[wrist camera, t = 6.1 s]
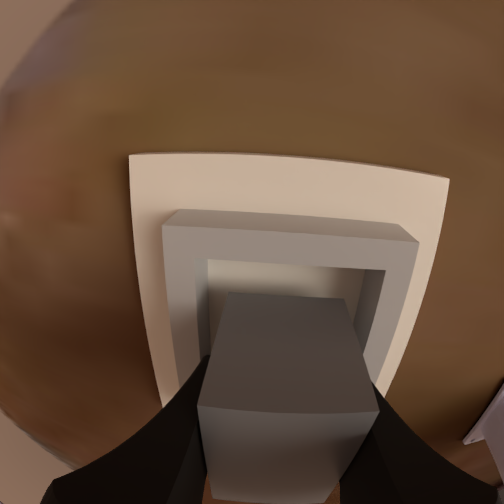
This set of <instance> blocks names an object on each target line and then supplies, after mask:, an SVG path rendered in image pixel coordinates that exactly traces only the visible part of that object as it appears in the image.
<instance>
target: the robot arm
mask: <svg viewBox="0 0 504 504" xmlns="http://www.w3.org/2000/svg"><path fill="white" fill-rule="evenodd" d="M210 356H211V355H207V354H206V355H205V356H204V357H203V358H202V360H201V361H200V363H199V364H198V366H197V367H196V369H195V370H194V371H193V373H192V374H191V376H190V377H189V378H188V379H187V381H186V382H185V383H184V385H183V386H182V387H181V388H180V389H179V391H178V392H177V393H176V394H175V395H174V397H173V398H172V399H171V400H170V401H169V402H168V403H167V404H166V405H165V406H164V407H163V408H162V409H161V410H160V411H159V413H158V414H157V415H156V416H155V417H153V418H152V419H151V420H150V421H149V422H148V423H147V424H146V425H145V426H144V427H142V428H141V429H140V430H139V431H138V432H136V433H135V434H134V435H133V436H131V437H130V438H129V439H127V440H126V441H125V442H123V443H122V444H121V445H119V446H118V447H116V448H115V449H113V450H112V451H110V452H109V453H107V454H105V455H104V456H102V457H100V458H98V459H97V460H95V461H93V462H91V463H90V464H88V465H86V466H84V467H82V468H80V469H78V470H75V471H73V472H71V473H69V474H66V475H64V476H61V477H59V478H56V479H54V480H53V481H52V483H51V484H50V486H49V487H48V489H47V490H46V492H45V495H44V496H43V499H42V501H41V503H40V504H202V498H203V492H204V485H205V480H206V476H207V466H206V461H205V455H204V449H203V443H202V436H201V430H200V423H199V416H198V409H197V403H198V399H199V396H200V392H201V388H202V385H203V381H204V377H205V374H206V370H207V367H208V363H209V359H210ZM371 383H372V386H373V390H374V393H375V396H376V400H377V403H378V407H379V411H380V412H379V414H378V415H377V417H376V419H375V421H374V423H373V425H372V427H371V429H370V430H369V432H368V434H367V436H366V438H365V439H364V441H363V443H362V445H361V446H360V448H359V450H358V452H357V453H356V455H355V456H354V458H353V460H352V461H351V463H350V465H349V466H348V468H347V469H346V471H345V472H344V474H343V476H342V477H341V479H340V480H339V483H340V504H502V501H501V498H500V495H499V492H498V490H497V488H496V487H493V486H491V485H489V484H487V483H485V482H483V481H481V480H479V479H476V478H474V477H473V476H471V475H469V474H467V473H466V472H464V471H462V470H461V469H459V468H458V467H456V466H455V465H453V464H452V463H450V462H449V461H447V460H446V459H445V458H443V457H442V456H441V455H439V454H438V453H437V452H435V451H434V450H433V449H432V448H431V447H429V446H428V445H427V444H426V443H425V442H424V441H423V440H422V439H421V438H420V437H418V436H417V435H416V434H415V433H414V432H413V431H412V430H411V429H410V428H409V427H408V426H407V424H406V423H405V422H404V421H403V420H402V419H401V418H400V417H399V415H398V414H397V413H396V412H395V411H394V410H393V408H392V407H391V406H390V405H389V403H388V402H387V401H386V399H385V398H384V397H383V396H382V394H381V393H380V392H379V390H378V389H377V388H376V386H375V385H374V384H373V382H372V381H371ZM483 439H485V440H486V442H487V445H488V447H489V449H490V451H491V454H492V456H493V458H494V461H495V463H496V465H497V468H498V470H499V473H500V475H501V478H502V480H503V483H504V384H503V385H502V387H501V388H500V390H499V392H498V393H497V395H496V396H495V398H494V399H493V401H492V402H491V404H490V405H489V406H488V408H487V409H486V411H485V412H484V414H483V415H482V416H481V418H480V419H479V420H478V422H477V423H476V424H475V426H474V427H473V428H472V430H471V431H470V432H469V433H468V435H467V436H466V437H465V438H464V440H463V443H464V444H465V445H466V444H470V443H473V442H476V441H479V440H483ZM0 504H3V503H2V502H1V501H0Z"/></svg>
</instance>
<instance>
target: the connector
mask: <svg viewBox="0 0 504 504" xmlns="http://www.w3.org/2000/svg"><path fill="white" fill-rule="evenodd" d="M197 409H198V416H199V423H200V430H201V436H202V443H203V449H204V455H205V461H206V466H207V472H208V477H209V482H210V488H211V493H212V498H213V499H221V500H230V501H240V502H252V503H272V504H311V503H324V502H325V500H326V499H327V498H328V496H329V495H330V493H331V492H332V490H333V489H334V488H335V486H336V485H337V483H338V482H339V480H340V479H341V477H342V476H343V474H344V472H345V471H346V469H347V468H348V466H349V465H350V463H351V461H352V460H353V458H354V456H355V455H356V453H357V452H358V450H359V448H360V446H361V445H362V443H363V441H364V439H365V438H366V436H367V434H368V432H369V430H370V429H371V427H372V425H373V423H374V421H375V419H376V417H377V415H378V414H379V412H380V411H379V407H378V403H377V400H376V396H375V393H374V390H373V386H372V383H371V379H370V376H369V373H368V370H367V366H366V363H365V360H364V357H363V354H362V350H361V347H360V344H359V341H358V338H357V335H356V332H355V329H354V326H353V323H352V320H351V317H350V314H349V311H348V309H347V306H346V303H345V300H344V299H342V298H320V297H300V296H283V295H267V294H252V293H239V292H228V295H227V298H226V302H225V306H224V309H223V313H222V316H221V320H220V323H219V327H218V331H217V334H216V338H215V341H214V345H213V348H212V352H211V356H210V359H209V363H208V367H207V370H206V374H205V377H204V381H203V385H202V388H201V392H200V396H199V399H198V403H197Z"/></svg>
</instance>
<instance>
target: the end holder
mask: <svg viewBox="0 0 504 504" xmlns="http://www.w3.org/2000/svg"><path fill="white" fill-rule="evenodd" d="M129 174H130V196H131V212H132V225H133V236H134V247H135V256H136V265H137V273H138V281H139V288H140V295H141V302H142V308H143V315H144V321H145V326H146V332H147V338H148V343H149V348H150V353H151V358H152V363H153V368H154V372H155V377H156V381H157V386H158V390H159V394H160V398H161V402H162V406H163V407H164V406H165V405H166V404H167V403H168V402H169V401H170V400H171V399H172V398H173V397H174V395H175V394H176V393H177V392H178V391H179V389H180V388H181V387H182V386H183V385H184V383H185V382H186V381H187V379H188V378H189V377H190V376H191V374H192V373H193V371H194V370H195V369H196V367H197V366H198V364H199V363H200V361H201V360H202V358H203V357H204V356H205V355H206V354H207V355H211V352H212V348H213V345H214V341H215V338H216V334H217V331H218V327H219V323H220V320H221V316H222V313H223V309H224V306H225V302H226V298H227V295H228V292H239V293H252V294H267V295H283V296H300V297H320V298H342V299H344V300H345V303H346V306H347V309H348V311H349V314H350V317H351V320H352V323H353V326H354V329H355V332H356V335H357V338H358V341H359V344H360V347H361V350H362V354H363V357H364V360H365V363H366V366H367V370H368V373H369V376H370V379H371V381H372V382H373V384H374V385H375V386H376V388H377V389H378V390H379V392H380V393H381V394H382V396H383V397H385V395H386V393H387V391H388V388H389V386H390V384H391V382H392V379H393V377H394V375H395V373H396V370H397V368H398V365H399V363H400V361H401V358H402V356H403V353H404V351H405V348H406V345H407V343H408V340H409V337H410V335H411V332H412V329H413V326H414V324H415V321H416V318H417V315H418V312H419V309H420V306H421V303H422V299H423V296H424V293H425V290H426V286H427V283H428V279H429V276H430V272H431V268H432V265H433V261H434V257H435V253H436V248H437V244H438V240H439V235H440V231H441V226H442V221H443V216H444V211H445V205H446V199H447V193H448V187H449V180H450V179H448V178H445V177H443V176H440V175H436V174H431V173H426V172H420V171H415V170H409V169H403V168H397V167H390V166H384V165H377V164H370V163H362V162H354V161H346V160H337V159H327V158H317V157H306V156H294V155H279V154H262V153H239V152H150V153H137V154H132V155H129Z"/></svg>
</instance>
